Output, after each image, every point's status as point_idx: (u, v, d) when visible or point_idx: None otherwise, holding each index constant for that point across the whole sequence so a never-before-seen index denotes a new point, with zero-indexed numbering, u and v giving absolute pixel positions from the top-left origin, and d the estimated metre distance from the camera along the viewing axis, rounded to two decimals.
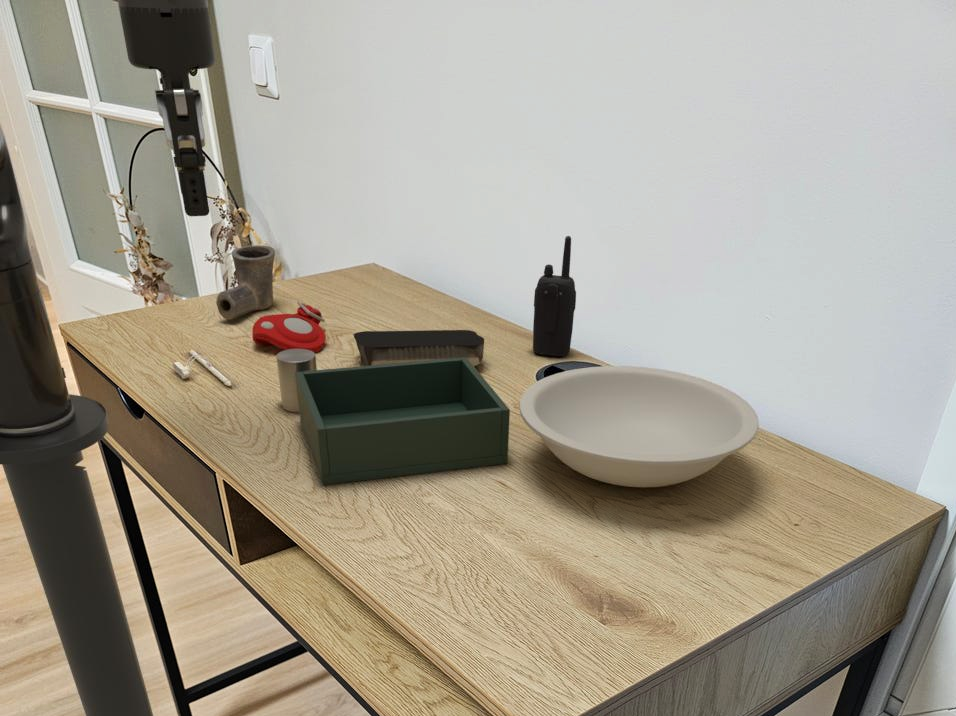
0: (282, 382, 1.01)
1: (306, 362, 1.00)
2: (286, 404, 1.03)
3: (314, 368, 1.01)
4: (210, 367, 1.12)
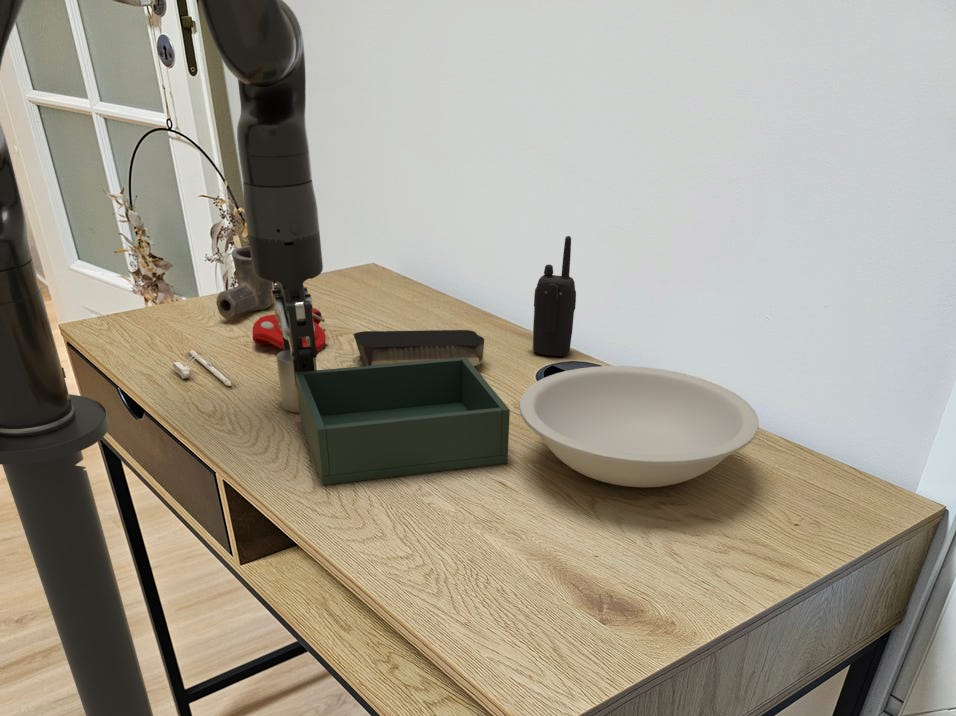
0: (282, 382, 1.01)
1: None
2: (286, 404, 1.03)
3: (314, 368, 1.01)
4: (210, 367, 1.12)
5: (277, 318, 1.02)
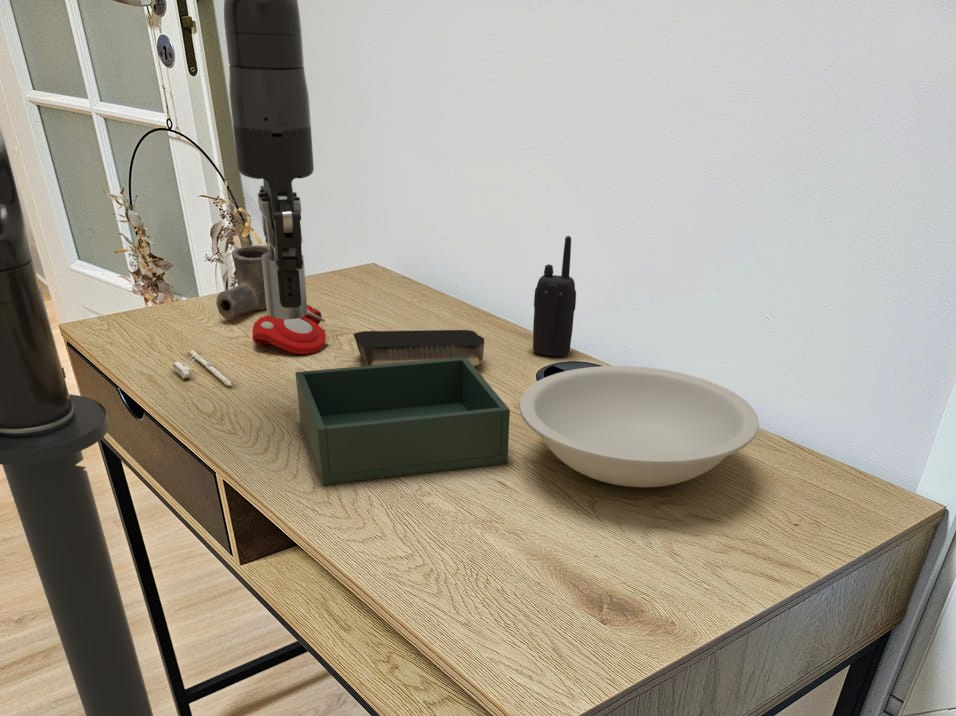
0: (267, 284, 0.95)
1: None
2: (271, 310, 0.96)
3: (302, 271, 0.95)
4: (210, 367, 1.12)
5: (265, 233, 0.94)
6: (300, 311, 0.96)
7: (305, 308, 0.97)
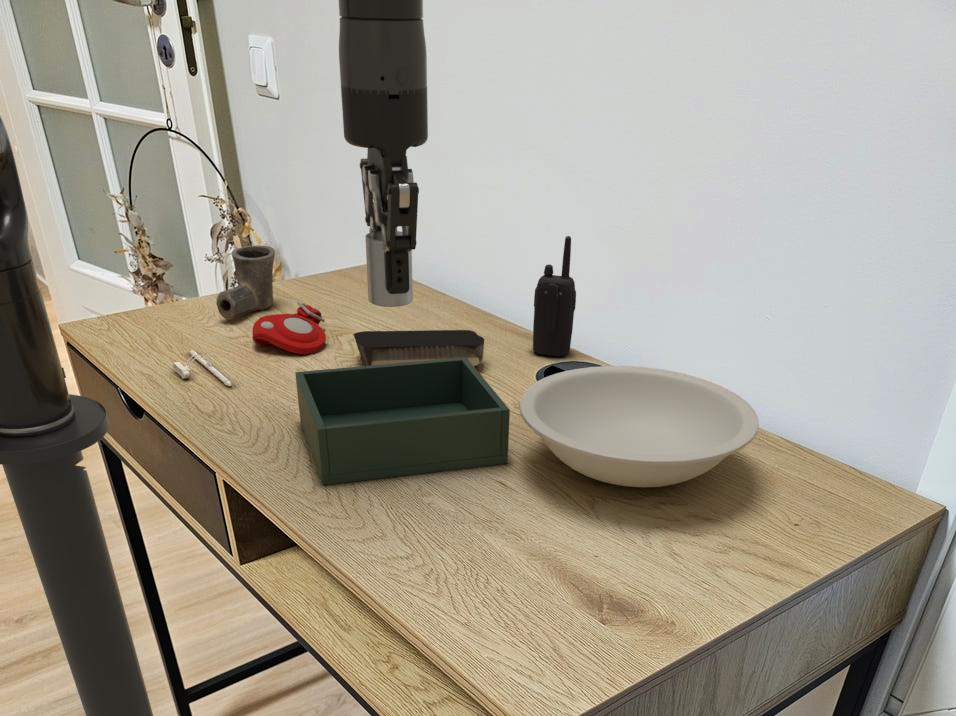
0: (372, 268, 0.85)
1: None
2: (374, 296, 0.86)
3: (410, 252, 0.85)
4: (210, 367, 1.12)
5: (368, 211, 0.84)
6: (406, 298, 0.87)
7: (411, 294, 0.87)
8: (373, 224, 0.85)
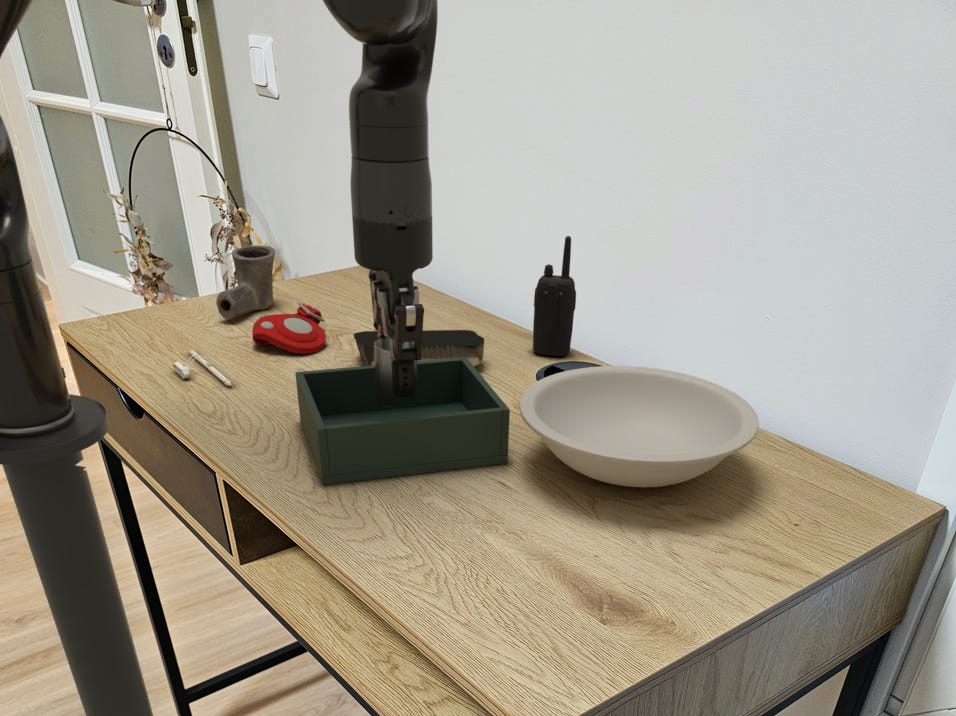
0: (380, 373, 0.91)
1: None
2: (382, 398, 0.92)
3: None
4: (210, 367, 1.12)
5: (377, 321, 0.90)
6: (412, 399, 0.93)
7: (416, 395, 0.93)
8: (381, 331, 0.91)
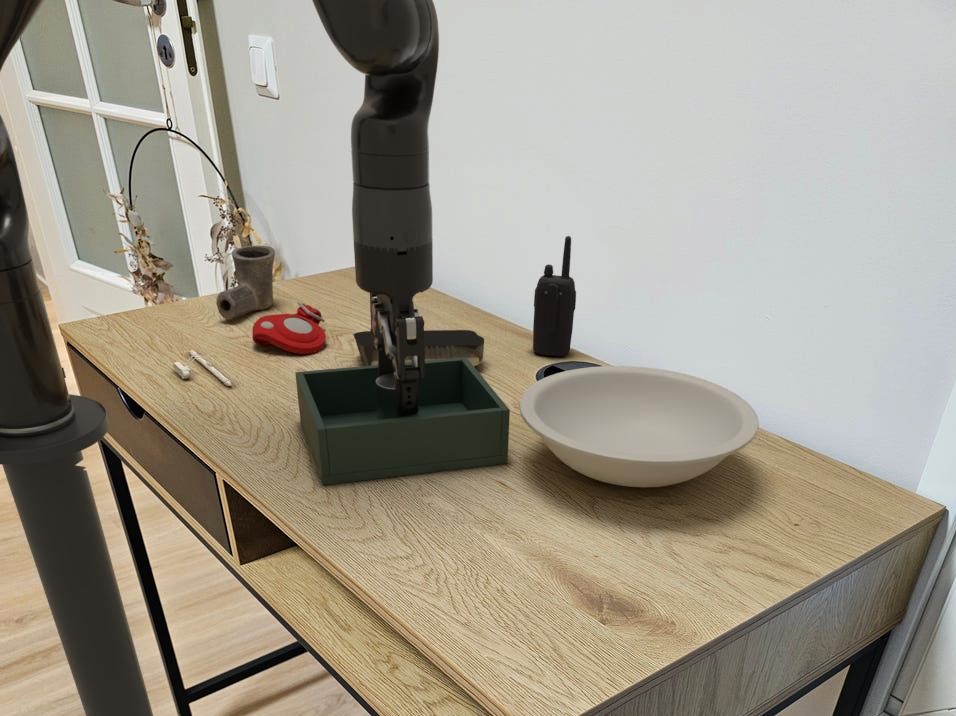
0: (381, 409, 0.93)
1: None
2: None
3: None
4: (210, 367, 1.12)
5: (375, 335, 0.92)
6: None
7: None
8: (377, 338, 0.93)
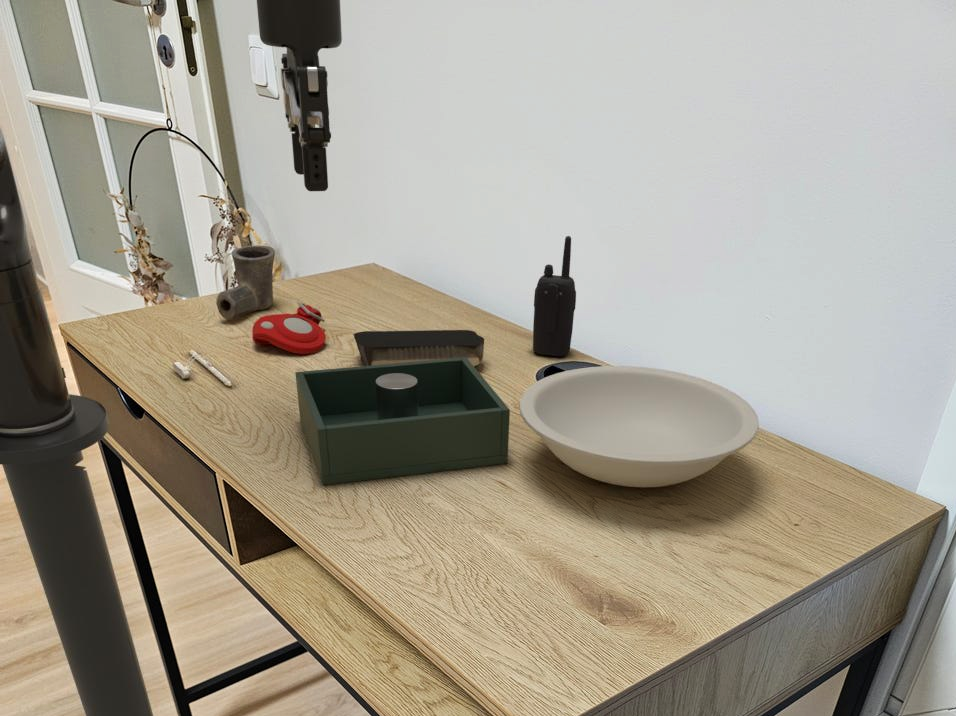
0: (381, 409, 0.93)
1: (409, 389, 0.92)
2: None
3: (416, 395, 0.93)
4: (210, 367, 1.12)
5: (286, 110, 0.88)
6: None
7: None
8: None
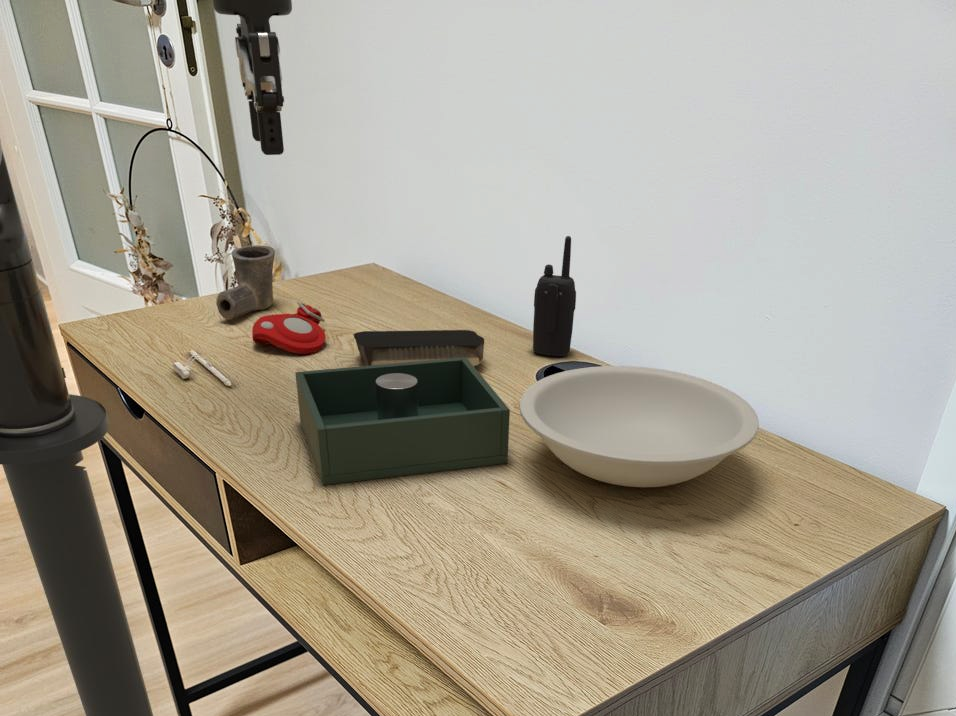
0: (381, 409, 0.93)
1: (409, 389, 0.92)
2: None
3: (416, 395, 0.93)
4: (210, 367, 1.12)
5: (242, 78, 0.91)
6: None
7: None
8: (247, 85, 0.93)
